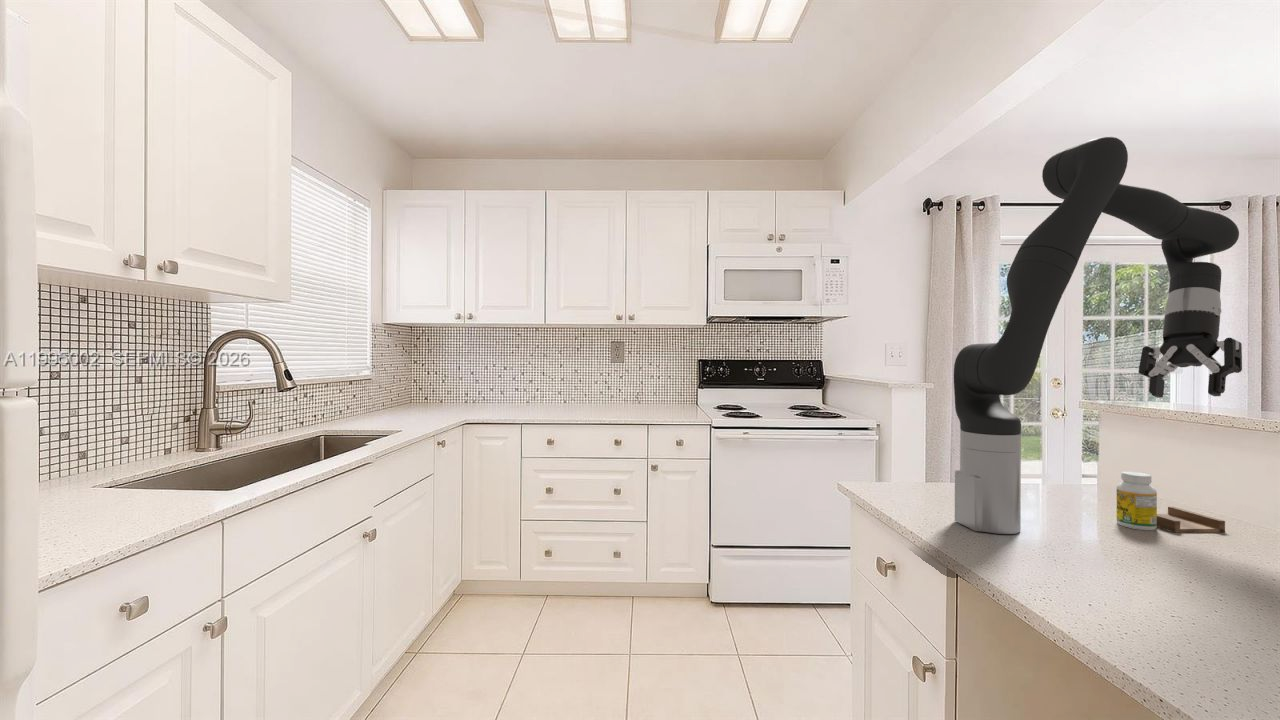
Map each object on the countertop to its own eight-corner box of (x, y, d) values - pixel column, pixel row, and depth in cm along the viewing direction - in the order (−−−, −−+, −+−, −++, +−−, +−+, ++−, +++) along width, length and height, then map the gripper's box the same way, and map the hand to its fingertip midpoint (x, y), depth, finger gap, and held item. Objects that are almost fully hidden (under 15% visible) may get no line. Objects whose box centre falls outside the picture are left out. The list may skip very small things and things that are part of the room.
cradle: (1174, 532, 93) (1174, 521, 93) (1126, 517, 102) (1127, 506, 102) (1225, 532, 94) (1225, 520, 94) (1172, 516, 103) (1173, 506, 103)
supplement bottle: (1163, 532, 93) (1163, 478, 93) (1125, 529, 95) (1125, 475, 95) (1146, 523, 98) (1146, 471, 98) (1110, 520, 100) (1110, 469, 100)
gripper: (1135, 316, 109) (1126, 391, 106) (1228, 301, 95) (1221, 388, 92) (1160, 327, 111) (1152, 402, 108) (1255, 315, 97) (1249, 400, 94)
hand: (1184, 396), depth 100 cm, fingers open, 8 cm apart
